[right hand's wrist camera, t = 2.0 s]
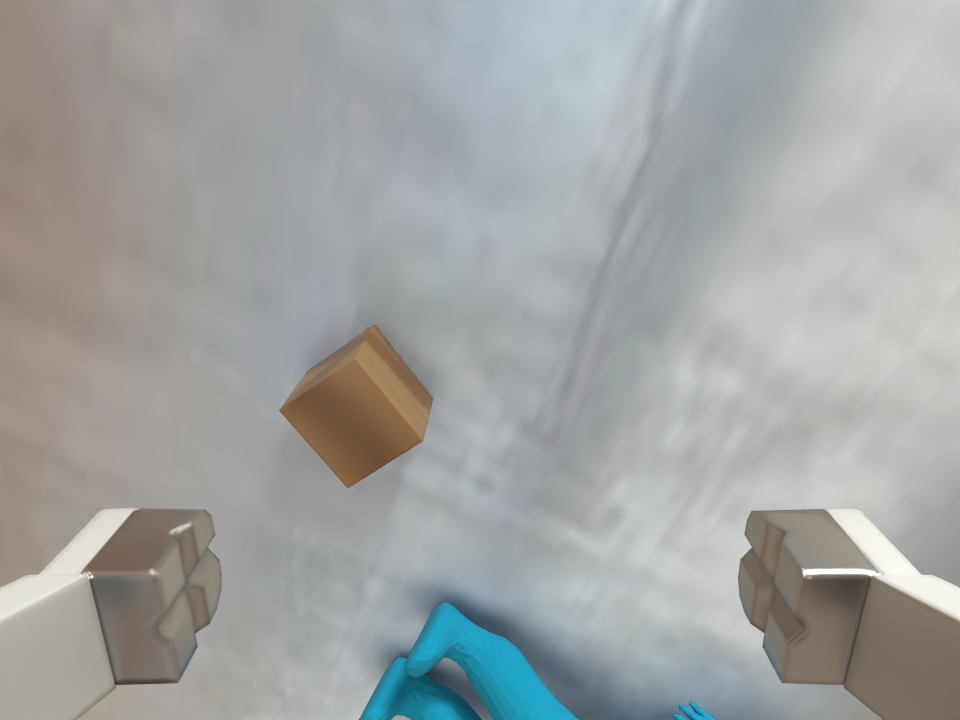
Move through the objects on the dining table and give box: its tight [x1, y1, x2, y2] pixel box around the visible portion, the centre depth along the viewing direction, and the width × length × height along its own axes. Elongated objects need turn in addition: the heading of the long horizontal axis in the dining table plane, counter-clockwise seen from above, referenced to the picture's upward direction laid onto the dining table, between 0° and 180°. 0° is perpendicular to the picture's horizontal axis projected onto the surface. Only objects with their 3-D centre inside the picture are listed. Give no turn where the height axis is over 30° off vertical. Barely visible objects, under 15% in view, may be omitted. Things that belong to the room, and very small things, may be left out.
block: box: [280, 326, 433, 488], centre depth 32 cm, size 4×5×4 cm
